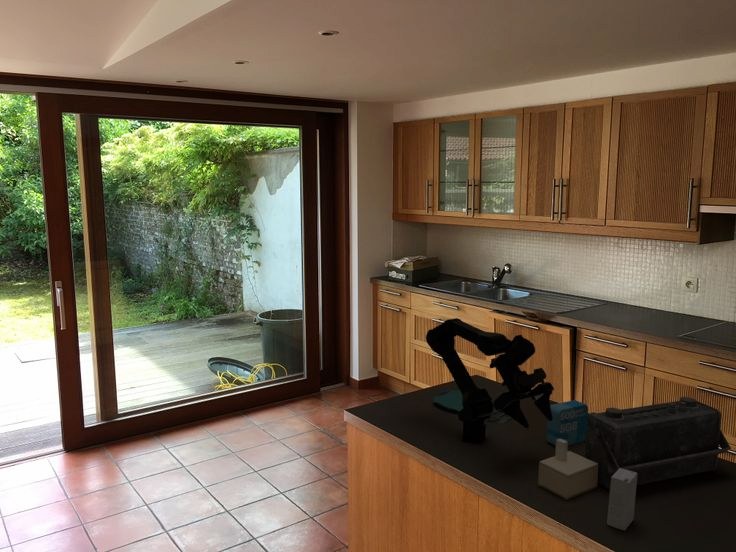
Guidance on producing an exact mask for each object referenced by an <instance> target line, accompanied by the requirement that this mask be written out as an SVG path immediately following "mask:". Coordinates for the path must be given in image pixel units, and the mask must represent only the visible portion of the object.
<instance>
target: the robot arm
mask: <svg viewBox="0 0 736 552" xmlns="http://www.w3.org/2000/svg"><path fill="white" fill-rule="evenodd" d="M455 337H459V338H461V339H463V340H465V341H467V342H470V343H471V344H474V345H475V346H476V347H477V349H478V351H479V352H480V353H482V354H484V355H485V356H486V357H492V356H496V355H498V356H497V357H494V358H491V359H490V363H489V368H490V369H495V368H496V370H497V372H498V374H499V376H500V377H501V379H502V382H501V386H502V387H506V388H507V390H508V391H505V392H503V393H501V394H500V395H498V396H497V397H496V398H495V399H494V400H493V398H492V397H491V395H489V392H488V390H487V389H486V388H479V387H478V386H477V385H476V383H475V382H474V379H473V378H472V376H471V374H470V373H469V371H468V369H467V368H466V365H464V363H463V360H462V359H461V357H460V356H459V353H458V352H457V350H456V339H455ZM425 341H426V343H427V344H428V347H429V348H430V349H431V350H432V352H434V353H436V355H439V356H440V357H441V358H442V360H443V362H444V364H445V367H446V369H448V371H449V373H450V375H451V377H452V379H453V380H454V382H455V384H456V385H457V387H458V390H460V391H461V393H462V405H463V409H462V410H461V411H460V412H457V416H458V421H460V422H462V437H461V441H462V442H467V443H474V444H480V445H481V444H484V442H485V441H486V438H487V437H488V436H487V433H488V428H487V427H488V424H487V423H486V421H487V419H489V420H490V419H491V418H490V417H491V416H492V415H493V414H492V412H493V411H494V410H496V411H498V412H500V413H501V414H503V413H505V415H506V416H508V417H511V418H512V419H513V420H514V421H516V422H517V423H518V424H520V425H521V426H522V427H524V428H525V429H528V428H529V427H530V424H529V423H528V422H529V421H528V420H527V418H526V416H525V414H524V412H523V411H522V408H521V401H523V400H526V399H529V398H531V399H532V400H534V402H533V404H534V405H535V406H536V408H537V409H538V410H539V411H540V413H542V415H543V416H544V418H546V419H547V421H548V420H549V421H552V420H553V418H552V413H551V408H550V406H551V404H550V403H551V402H550V397H551V395H553V391H554V390H555V387H554V386H553V385H552V383H551V382H549V381H545V379H546V378H547V374H546V372H545V370H544V368H543V367H539V368H535V369H533V373H527V370H521V368H520V366H522V365H523V364H525V363H527V361H528V360H529V359H530V358H531V357H532V356H533V355H535V354H536V347H535V345H534V343H533V342H531V341H530V340H529V339H527V338H525V337H524V336H523V335H522V334H515V336H514V337H513V339H512V340H511V339H509V338H507V336H506V335H505V334H503V333H499V332H495V331H494V332H492V331H484V330H482V329H480V328H478V327H476V326H474V325H472V324H469V323H468V322H464V321H463V320H462V319H461V318H457V317H455V318H449V319H446V320H445V321H443V322H442V323H440V324H439V325H437V326H435V327H434V328H431V329H429V330H428V331H427V332H426V335H425ZM491 400H492V401H491ZM492 402H493V403H492ZM493 404H494V405H493ZM491 414H492V415H491Z"/></svg>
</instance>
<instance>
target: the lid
mask: <svg viewBox="0 0 736 552" xmlns="http://www.w3.org/2000/svg"><path fill="white" fill-rule="evenodd" d="M539 464H542V465H544V466H546V467H548V468H550V469H552V470H554V471H556V472H558V473H560V474H562V475H564V476H566V477H570V476H573V475H576V474H578V473H581V472H583V471H586V470H589V469H591V468H594V467H596V466H598V463H595V462H593V461H591V460H589V459H586V458H585V456H582V455H580V454H577V453H575V452H573V451H570V450H568V442H567V441H565V440H563V439H557V440H556V446H555V455H554V456H551V457H548V458H545V459H542V460H540V461H539Z"/></svg>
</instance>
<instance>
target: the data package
mask: <svg viewBox="0 0 736 552" xmlns="http://www.w3.org/2000/svg"><path fill="white" fill-rule="evenodd" d="M550 408H551V413H552V418H553V420H552V421H549V420H548V419H547V425H546V426H547V427H546V441H547V442H548V443H550V444H552V445H553V446H555V447H556V440H557V439H563V440H565V441H567V442H568V446H569V447H570V446H573V445H575V444H580V443H584V442H586V430H587V417H588V415H589V406H588V405H587V404H585V403H583V402H581V401H579V400H576V399H572V400H568V401H564V402H559V403H554V404H550Z"/></svg>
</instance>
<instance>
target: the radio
mask: <svg viewBox="0 0 736 552" xmlns="http://www.w3.org/2000/svg"><path fill="white" fill-rule="evenodd" d="M721 425H722V412H721V411H720V410H719V409H717V408H715V407H713V406H711V405H708V404H705V403H702V402H701V401H698V400H696V399H695V398H693V397H691V396H690V397H688V396H680V397H679V400H676V401H668V402H662V403H656V404H651V405H650V404H649V405H643V406H636V407H630V408H629V407H627V408H624V409H622V408H621V409H620V408H617V407H607V408H605V411H603V412H602V411H601V412H590V413H588V417H587V430H586V439H585V447H584V448H585V449H584V458H586V459H589V460H591V461H593V462H595V463H598V481H597V484H599V485H601V486H602V487H604V488H605V489H607V490H608V491H610V486H611V477H612V476H613V475H614V474H615V473H616V472H617V470H618V469H619V468H621V469H625V470H629V471H632V472H636V473H637V485H636V487H637V486H641V485H645V484H646V485H647V484H651V483H656V482H661V481H667V480H671V479H676V478H682V477H686V476H690V475H696V474H700V473H705V472H706V473H707V472H715V471H716V470H717V468H718V458H719V455H720V454H725V453H727V452H729V451H730V450H732V447H731V445H730V443H729V442H728V439H726V437H725V434H724V433H723V431H722V429H721V427H722V426H721Z"/></svg>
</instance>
